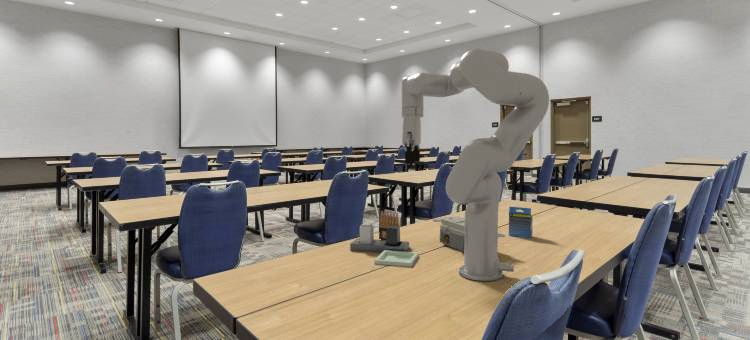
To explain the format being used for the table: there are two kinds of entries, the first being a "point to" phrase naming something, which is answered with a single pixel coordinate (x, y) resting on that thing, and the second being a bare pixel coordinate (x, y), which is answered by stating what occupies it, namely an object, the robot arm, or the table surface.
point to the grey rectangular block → (367, 233)
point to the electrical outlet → (453, 232)
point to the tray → (396, 258)
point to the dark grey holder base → (383, 242)
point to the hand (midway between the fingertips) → (412, 162)
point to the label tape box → (520, 222)
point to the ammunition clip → (387, 223)
